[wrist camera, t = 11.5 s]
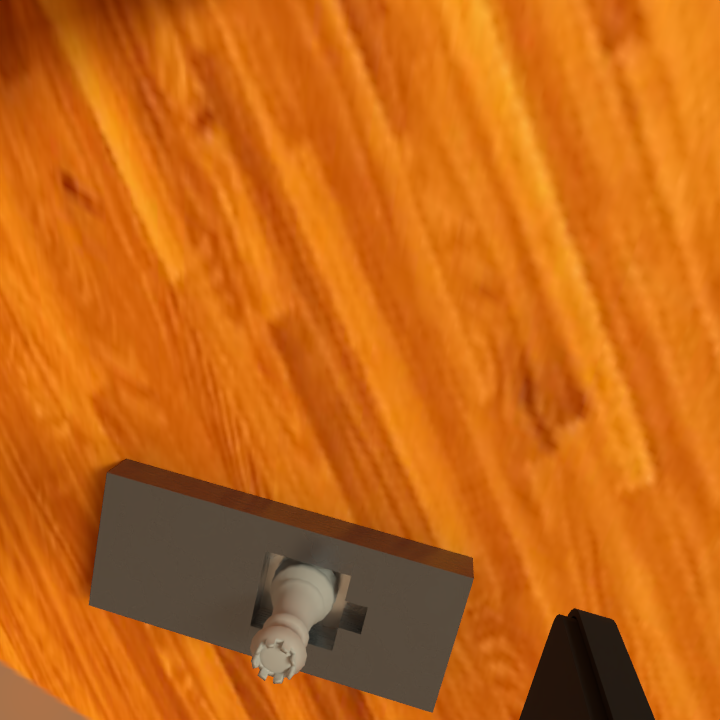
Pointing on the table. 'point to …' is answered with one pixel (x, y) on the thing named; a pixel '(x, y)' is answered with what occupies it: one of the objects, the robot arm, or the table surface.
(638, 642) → the table surface
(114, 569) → the pocket plate
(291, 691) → the table surface
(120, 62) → the table surface
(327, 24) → the table surface
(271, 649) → the rook chess piece
